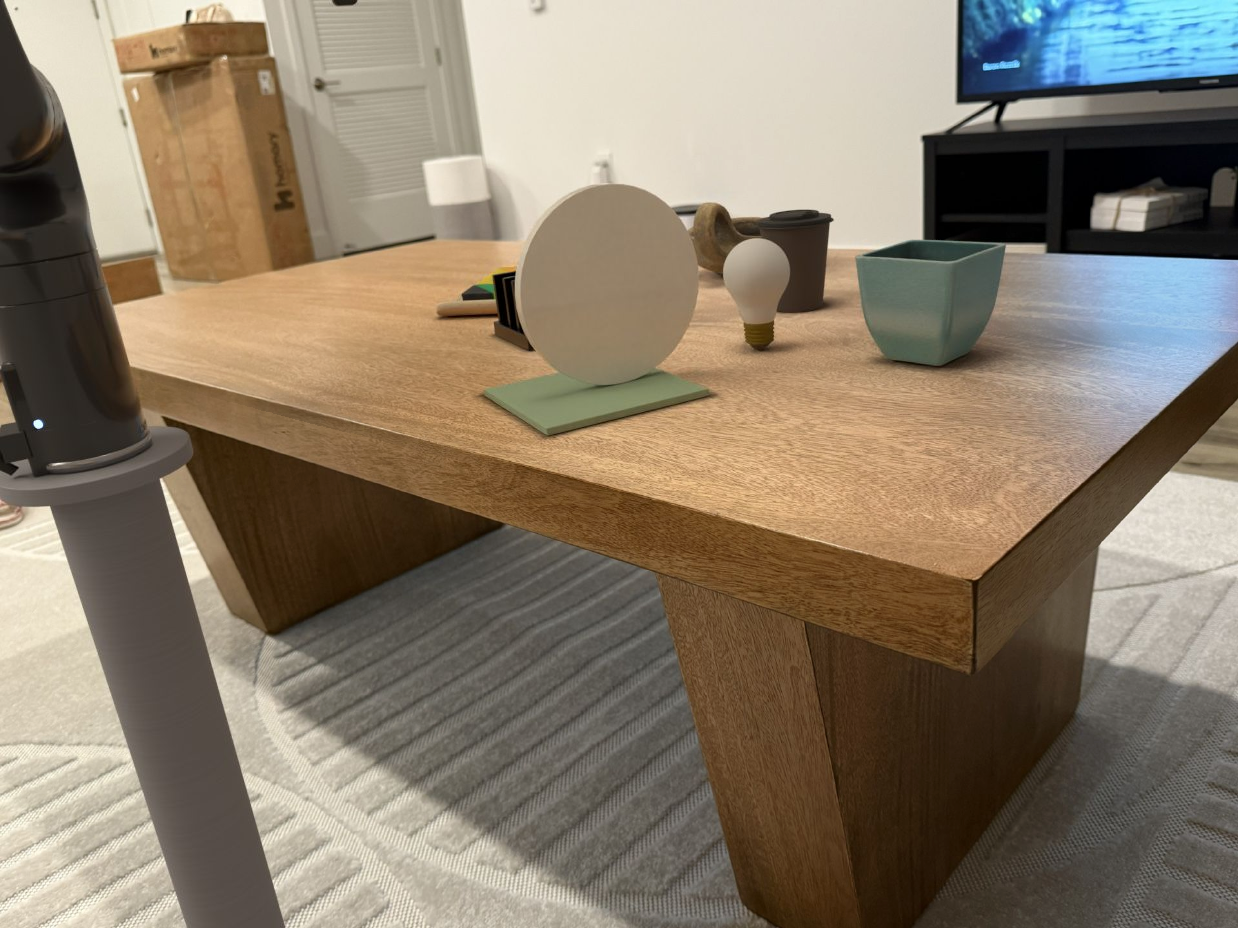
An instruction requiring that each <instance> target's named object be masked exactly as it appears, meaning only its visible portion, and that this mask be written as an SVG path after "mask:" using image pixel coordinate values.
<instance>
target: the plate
mask: <svg viewBox="0 0 1238 928" xmlns="http://www.w3.org/2000/svg"><path fill="white" fill-rule="evenodd" d="M522 245H523V246H522V248H521V251H520V253H519V256H518V260H517V264H516V266H517V268H516V276H515V300H516V308H517V312H518V316H519V320H520V323H521V326H522V328H523V331H524V333H525V335H526V337H527V339H528V340H529V342H530V344H531V345H532V347H533V348H534V349H535V350H534V351H535V352H536V354H537V355H538V356H539V357H540V358H541V359H542V360H543V361H544V362H545V363H546V364H547V365H549V366H550V367H551V368H552V369H554V370H555V371H557V372H558V373H559V372H561V373H562V374H564V375H566V376H568V377H570V378H572V379H575V380H578V381H580V382H584V383H588V384H593V385H616V384H620V383H625V382H629V381H631V380H634V379H637V378H639V377H641V376H643V375H645V374H647V373H649V372H650V371H651V370H653V369H654V368H657V367H658V366H660V365H661V364H662V363H663V362H665V360H667V358H668V357H669V356H670V355H671V354H672V353H673V352H674V351H675V350H676V348H677V347H678V345H679V344H680V343H681V341H682V340H683V338H684V337H685V335H686V332H687V330H688V329H689V327H690V324H691V322H692V319H693V317H694V313H695V309H696V306H697V301H698V295H699V287H700V286H699V283H700V271H699V266H698V262H697V256H696V252H695V249H694V245H693V242H692V240H691V237H690V235H689V233H688V228H687V227H686V225H685V224H684V222H683V220H682V219H681V218H680V217H679V215H678V214H677V213H676V211H675V210H674V209H673V207H671V206H670V205H669V204H668V203H667V202H666V201H664V200H663V199H661V198H660V197H658V196H657V195H656V194H654V193H652V192H651V191H648V190H646V189H643V188H640V187H638V186H635V185H630V184H624V183H613V182H612V183H610V182H609V183H607V182H606V183H605V182H603V183H596V184H595V183H594V184H590V185H587V186H583V187H579V188H577V189H575V190H573V191H570V192H569V193H567V194H565V195H564V196H562V197H561V198H558V199H557V200H556V201H555V202H554V203H552V204H551V205H550V206H549V207H548V208H547V209H546V210H545V211H544V212H543V213H542V214H541V215H540V216H539V218H537V220H536V222H535V223H534V225H533V226H532V228H530V231H529V232H528V235H527V236H526V238H525V239H524V242H523V244H522Z"/></svg>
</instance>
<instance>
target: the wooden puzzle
mask: <svg viewBox="0 0 1238 928" xmlns="http://www.w3.org/2000/svg"><path fill="white" fill-rule="evenodd" d="M516 268H517V265H516V266H515V265H514V266H500V267H497V268H496V269H495V270H493V271H492V272H491V273H489V274H488V275H486V276H484V277H483V278H482V279H480V280H479V281H478V282H476V283H475V284H473V285H472V286H470V287H469V288H467V289H466V290H465V291H463V292H462V293H461V294H460V295H459V296H457V297H455V298H454V299H452V300H451V301H441V302H439V303H437V304H436V306H435V313H436V315H437V316H440V317H448V316H449V317H450V316H473V315H475V316H477V315H498V313H497V306H496V299H495V292H494V285H493V278H492V275H494V274H499V273H505V272H511V271H516Z"/></svg>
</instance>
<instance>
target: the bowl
mask: <svg viewBox="0 0 1238 928" xmlns="http://www.w3.org/2000/svg"><path fill="white" fill-rule="evenodd" d="M765 217H766V216H764V217H760V216H743V217H731V214H730V212H729V211H728V208H726V207H725V206H724V205H722V204H720V203H718V202H711V201H710V202H703V203H701V204H700V205H699V206H698V208H697V209H696V212H695V214H694V217H693V226H691V227H690V228H688V229H687V231H688V233H689V235H690V237H691V240H692V242H693V245H694V249H695V252H696V256H697V262H698V267H700V268H702V269H705V270H707V271H710V272H713V273H717V274H722V275H723V268H724V263H725V260H726V258H727V256H728V255H729V253H730V252H731V250H732V249H733V248H734V247H735V246H737V245H738V244H740V243H741V242H743V241H745V240H749V239H754V238H761V233H760V228H757V227H756V226H755V225H756V224H757V223H758V220H759V219H762V218H765Z"/></svg>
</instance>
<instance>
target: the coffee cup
mask: <svg viewBox="0 0 1238 928" xmlns="http://www.w3.org/2000/svg"><path fill="white" fill-rule="evenodd" d="M764 217H765V218H764ZM764 217H761V218H762V219H759V220H758V223H757V224H756V225H755V226H756V227H757V228H760V233H761V239H766V240H769V241H771V242H773V243H775V244H776V245H778V246H779V247H780V248H781V249H782V250H783V252H784V253H785V255H786V257H787V259H788V262H789V266H790V277H789V282H788V284H787V287H786V289H785V291H784V292H783V294H782V296H781V298H780V300H779V302H778V306H777V310H776V312H781V313H799V312H807V311H808V312H809V311H814V310H817V309H820V308H822V307H823V305H824V296H825V295H824V293H825V284H826V272H827V261H828V250H829V237H830V227H831V226H830V225H831V223H833V222H834V221H835V219H834V218H833V217H832V214H830V213H827V212H820V211H819V210H817V209H791V210H790V209H789V210H781V211H777V212H773V213H771V214H769V216H764Z"/></svg>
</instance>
